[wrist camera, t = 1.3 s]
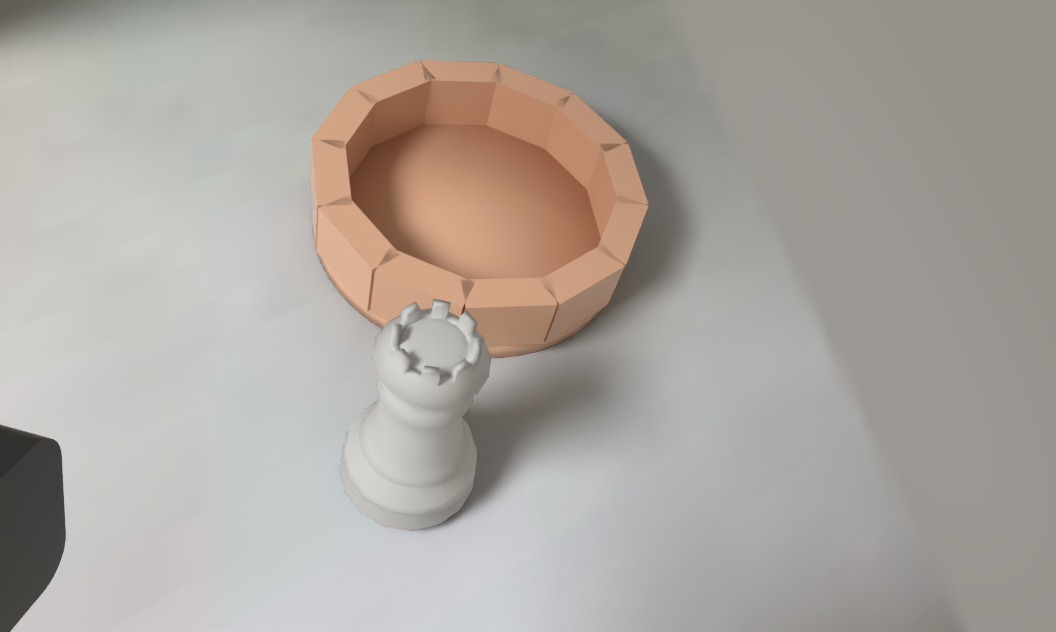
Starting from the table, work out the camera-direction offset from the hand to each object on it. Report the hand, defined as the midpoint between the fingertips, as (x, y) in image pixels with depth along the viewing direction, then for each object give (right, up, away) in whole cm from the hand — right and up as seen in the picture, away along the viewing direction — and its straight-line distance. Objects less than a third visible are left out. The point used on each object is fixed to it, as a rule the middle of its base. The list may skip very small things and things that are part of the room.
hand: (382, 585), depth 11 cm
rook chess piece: (-2, -2, +21) cm, 22 cm away
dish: (-1, +7, +28) cm, 29 cm away
